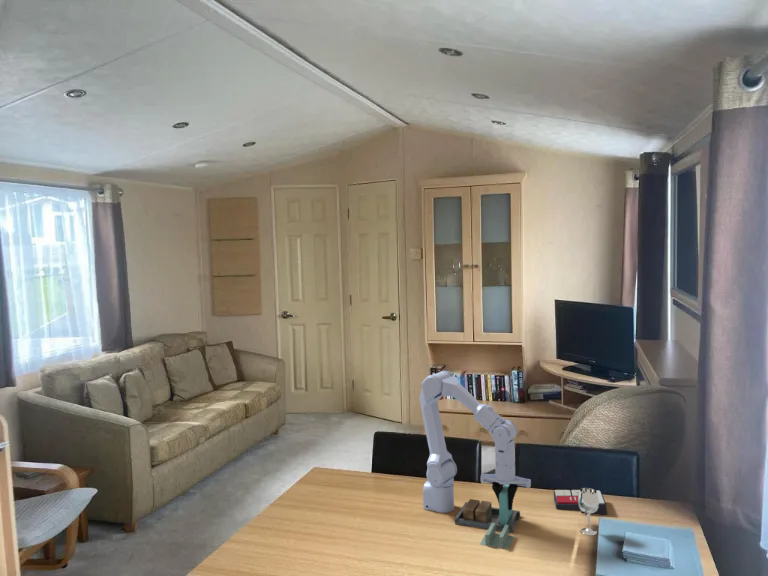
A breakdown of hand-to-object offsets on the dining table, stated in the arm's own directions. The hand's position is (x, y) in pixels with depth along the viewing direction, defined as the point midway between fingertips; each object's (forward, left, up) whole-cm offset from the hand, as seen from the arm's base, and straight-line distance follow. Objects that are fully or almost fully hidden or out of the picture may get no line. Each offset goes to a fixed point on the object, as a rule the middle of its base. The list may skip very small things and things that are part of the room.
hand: (505, 508), depth 178 cm
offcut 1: (-10, 0, -4) cm, 11 cm away
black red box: (+19, +21, -6) cm, 29 cm away
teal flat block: (0, 0, -4) cm, 4 cm away
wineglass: (+23, +4, -6) cm, 24 cm away
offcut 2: (-7, 0, -4) cm, 8 cm away
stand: (0, -12, -5) cm, 13 cm away
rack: (-5, 0, -5) cm, 7 cm away
